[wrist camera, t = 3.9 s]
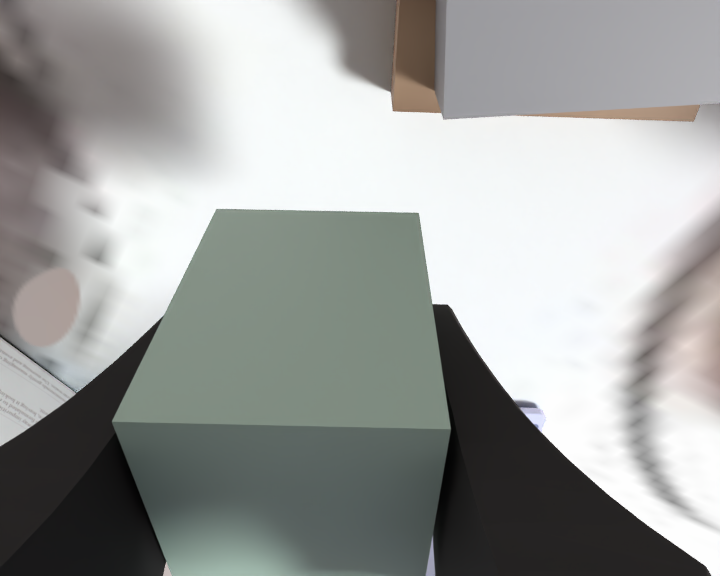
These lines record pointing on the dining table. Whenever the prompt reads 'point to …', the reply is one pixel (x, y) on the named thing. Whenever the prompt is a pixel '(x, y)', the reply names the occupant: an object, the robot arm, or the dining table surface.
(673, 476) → the dining table surface
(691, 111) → the tan square slab
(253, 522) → the green column
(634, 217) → the dining table surface
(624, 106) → the grey square slab
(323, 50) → the dining table surface
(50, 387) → the skincare box
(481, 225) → the dining table surface
